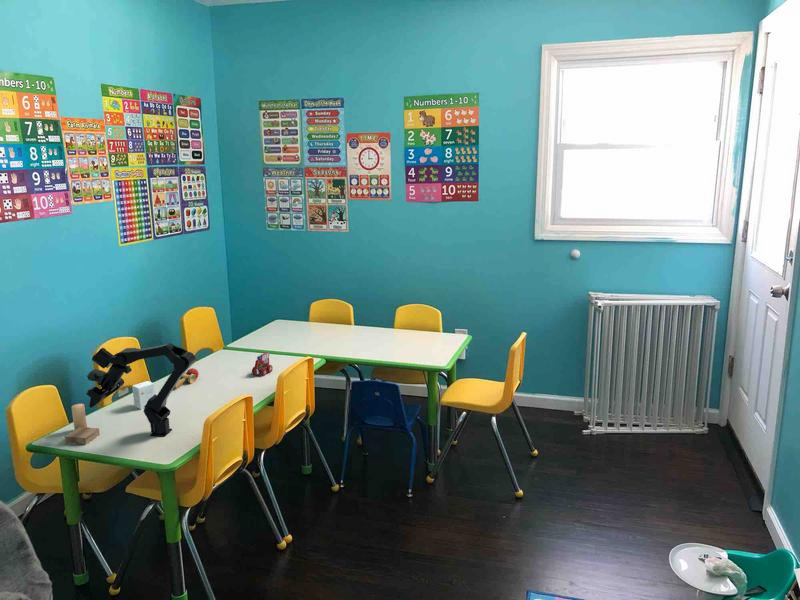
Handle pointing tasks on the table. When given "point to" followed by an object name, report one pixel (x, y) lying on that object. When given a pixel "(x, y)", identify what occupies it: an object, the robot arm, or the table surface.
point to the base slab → (82, 435)
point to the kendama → (187, 377)
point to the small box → (143, 393)
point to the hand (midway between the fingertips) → (96, 402)
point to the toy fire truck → (262, 365)
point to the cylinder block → (79, 416)
